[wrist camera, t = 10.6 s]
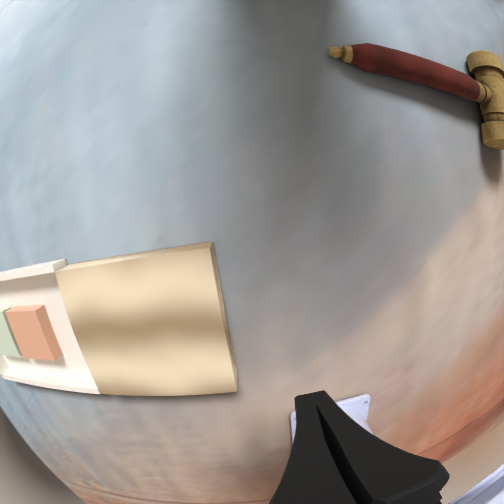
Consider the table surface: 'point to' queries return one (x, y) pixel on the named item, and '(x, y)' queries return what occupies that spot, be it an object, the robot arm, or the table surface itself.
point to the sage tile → (7, 336)
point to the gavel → (441, 79)
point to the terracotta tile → (34, 332)
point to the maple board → (152, 322)
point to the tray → (48, 293)
